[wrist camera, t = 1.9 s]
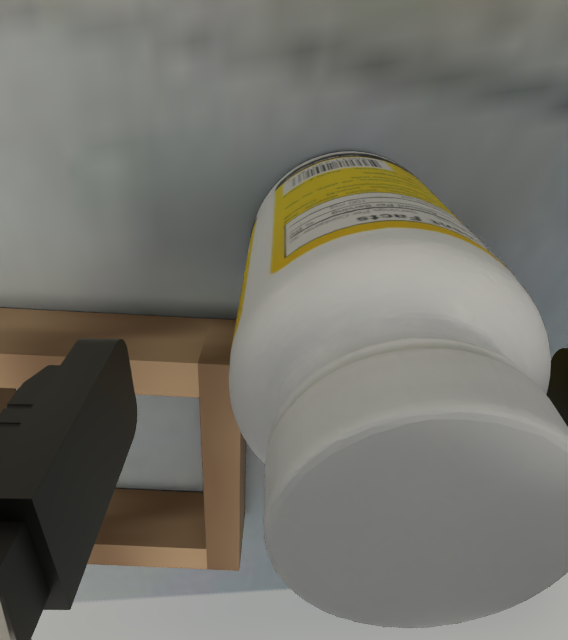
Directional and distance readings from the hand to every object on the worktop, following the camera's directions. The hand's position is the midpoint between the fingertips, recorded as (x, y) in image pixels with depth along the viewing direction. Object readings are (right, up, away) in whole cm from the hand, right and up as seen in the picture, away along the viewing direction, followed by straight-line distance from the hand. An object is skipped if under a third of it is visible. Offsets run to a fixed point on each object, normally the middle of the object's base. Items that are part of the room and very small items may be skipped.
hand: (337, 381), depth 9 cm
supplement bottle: (+1, +4, +5) cm, 6 cm away
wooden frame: (-7, -3, +9) cm, 12 cm away
